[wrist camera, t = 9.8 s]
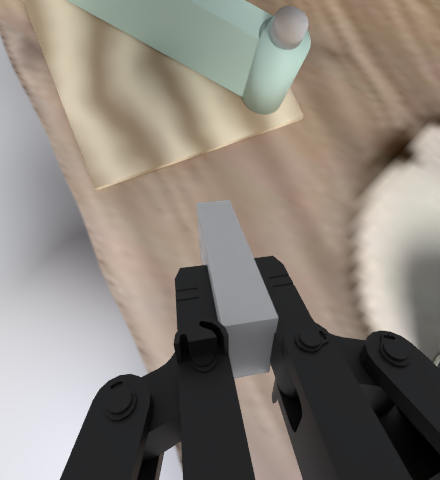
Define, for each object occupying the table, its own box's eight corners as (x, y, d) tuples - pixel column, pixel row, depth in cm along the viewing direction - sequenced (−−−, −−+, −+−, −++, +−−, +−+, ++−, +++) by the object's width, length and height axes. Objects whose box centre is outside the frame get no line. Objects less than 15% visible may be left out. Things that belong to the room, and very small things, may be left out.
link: (288, 89, 34) (318, 32, 26) (271, 121, 33) (297, 71, 25) (81, -26, 33) (48, -121, 25) (57, 4, 32) (16, -86, 24)
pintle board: (214, -59, 37) (225, -193, 27) (301, 119, 34) (350, 48, 24) (17, -18, 33) (-63, -159, 23) (96, 190, 30) (48, 140, 20)
